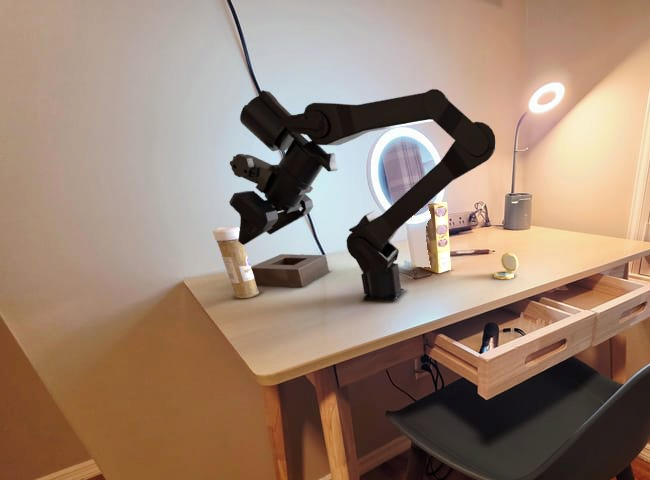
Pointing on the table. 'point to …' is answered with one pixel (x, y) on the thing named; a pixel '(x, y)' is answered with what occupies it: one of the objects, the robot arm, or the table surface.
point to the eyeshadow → (507, 266)
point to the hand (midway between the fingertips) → (255, 237)
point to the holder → (290, 270)
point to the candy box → (438, 238)
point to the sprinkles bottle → (236, 262)
